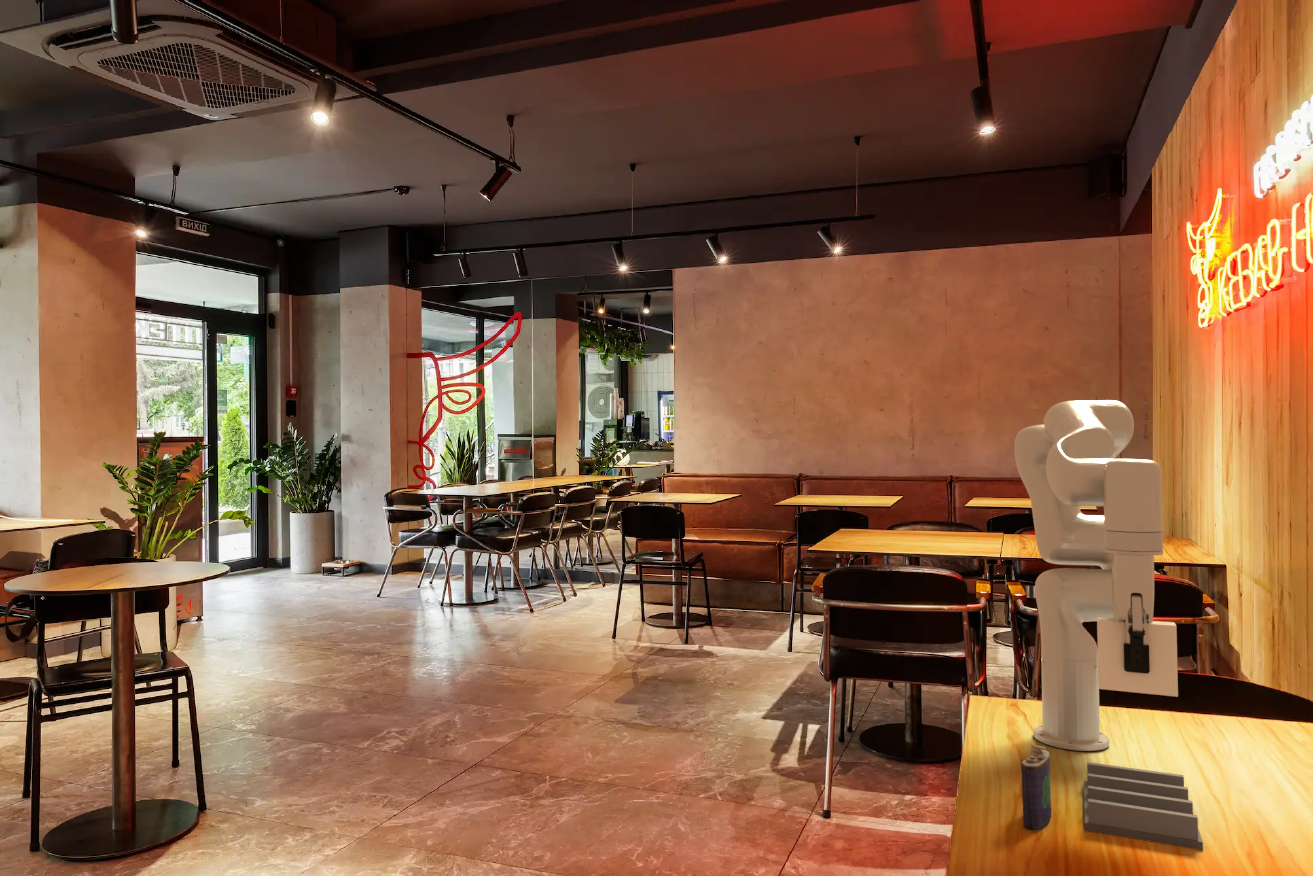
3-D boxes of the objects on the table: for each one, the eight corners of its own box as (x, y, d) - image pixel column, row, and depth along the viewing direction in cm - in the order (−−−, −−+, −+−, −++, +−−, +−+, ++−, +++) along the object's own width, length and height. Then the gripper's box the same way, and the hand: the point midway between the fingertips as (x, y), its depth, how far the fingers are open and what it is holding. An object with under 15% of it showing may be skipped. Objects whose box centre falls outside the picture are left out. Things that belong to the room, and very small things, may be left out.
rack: (1083, 786, 136) (1083, 761, 136) (1187, 801, 130) (1186, 775, 130) (1084, 830, 120) (1084, 801, 120) (1202, 850, 114) (1202, 819, 114)
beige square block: (1098, 684, 129) (1097, 617, 129) (1175, 691, 124) (1174, 622, 125) (1098, 688, 126) (1097, 620, 126) (1178, 696, 122) (1176, 625, 122)
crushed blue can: (1035, 807, 128) (1034, 735, 128) (1056, 812, 126) (1055, 738, 126) (1019, 829, 120) (1018, 752, 121) (1042, 834, 119) (1041, 756, 119)
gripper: (1102, 538, 135) (1105, 656, 134) (1106, 547, 120) (1109, 679, 120) (1157, 540, 132) (1160, 660, 131) (1168, 549, 117) (1171, 685, 116)
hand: (1135, 668), depth 125 cm, fingers closed on beige square block, 3 cm apart
